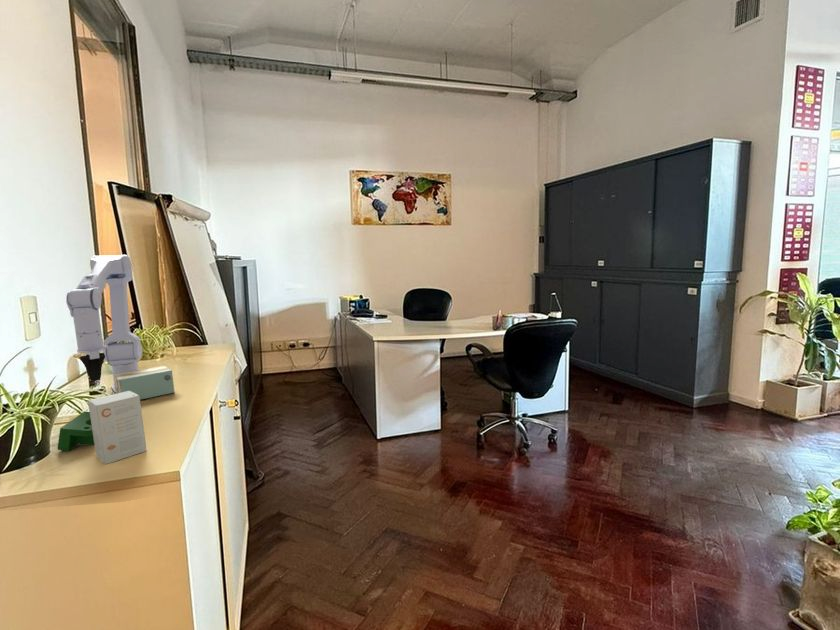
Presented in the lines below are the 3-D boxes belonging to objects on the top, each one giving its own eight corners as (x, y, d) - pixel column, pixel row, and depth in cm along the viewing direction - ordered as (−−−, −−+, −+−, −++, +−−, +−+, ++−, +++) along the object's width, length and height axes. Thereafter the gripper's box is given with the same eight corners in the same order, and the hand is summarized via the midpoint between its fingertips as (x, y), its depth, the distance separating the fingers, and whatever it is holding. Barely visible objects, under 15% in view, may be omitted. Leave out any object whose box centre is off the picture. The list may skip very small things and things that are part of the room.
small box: (137, 444, 103) (130, 389, 101) (147, 451, 98) (140, 394, 97) (95, 457, 96) (87, 399, 95) (104, 465, 92) (95, 405, 91)
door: (123, 402, 132) (120, 378, 131) (173, 391, 142) (170, 369, 140) (124, 403, 131) (121, 380, 130) (174, 392, 140) (172, 370, 139)
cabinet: (117, 395, 140) (114, 374, 139) (166, 385, 149) (164, 365, 148) (122, 403, 133) (119, 380, 132) (174, 392, 142) (171, 371, 141)
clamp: (89, 465, 102) (87, 436, 98) (59, 463, 101) (55, 434, 97) (112, 427, 113) (111, 400, 109) (85, 425, 111) (83, 397, 107)
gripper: (110, 333, 119) (116, 382, 121) (102, 327, 130) (109, 372, 132) (77, 337, 114) (84, 388, 116) (72, 330, 125) (79, 377, 127)
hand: (95, 380), depth 124 cm, fingers closed
